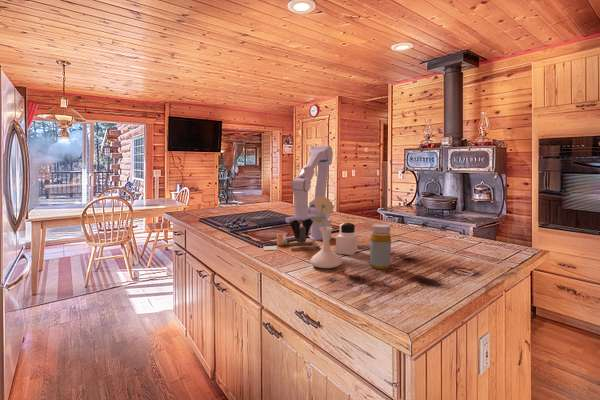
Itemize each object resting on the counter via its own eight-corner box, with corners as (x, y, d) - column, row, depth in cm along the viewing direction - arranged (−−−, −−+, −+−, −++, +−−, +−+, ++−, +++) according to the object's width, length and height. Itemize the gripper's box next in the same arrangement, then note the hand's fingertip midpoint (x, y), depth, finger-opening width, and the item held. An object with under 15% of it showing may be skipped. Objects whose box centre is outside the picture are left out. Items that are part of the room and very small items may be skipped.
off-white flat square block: (276, 246, 149) (276, 245, 149) (277, 250, 143) (277, 249, 143) (263, 247, 148) (263, 246, 148) (264, 250, 142) (264, 250, 142)
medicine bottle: (357, 251, 141) (358, 222, 140) (352, 255, 135) (353, 225, 133) (341, 249, 144) (341, 221, 143) (335, 253, 138) (335, 224, 136)
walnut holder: (314, 243, 154) (314, 241, 153) (319, 249, 144) (319, 246, 144) (288, 244, 152) (288, 242, 151) (291, 250, 142) (291, 248, 142)
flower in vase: (348, 267, 120) (349, 197, 117) (322, 273, 114) (323, 199, 111) (326, 258, 131) (326, 193, 128) (301, 263, 125) (301, 195, 122)
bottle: (367, 264, 124) (368, 223, 122) (386, 263, 125) (387, 223, 123) (373, 270, 117) (374, 227, 115) (392, 269, 118) (394, 227, 116)
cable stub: (304, 239, 149) (304, 226, 149) (306, 242, 146) (306, 228, 145) (295, 240, 149) (295, 226, 148) (297, 242, 145) (297, 228, 144)
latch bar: (284, 239, 160) (284, 229, 160) (287, 245, 150) (287, 234, 150) (275, 240, 160) (275, 229, 159) (277, 245, 150) (277, 234, 149)
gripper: (309, 203, 153) (309, 233, 154) (281, 206, 145) (282, 237, 146) (319, 205, 147) (318, 236, 148) (290, 208, 139) (290, 240, 140)
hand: (301, 237), depth 147 cm, fingers closed on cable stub, 4 cm apart
